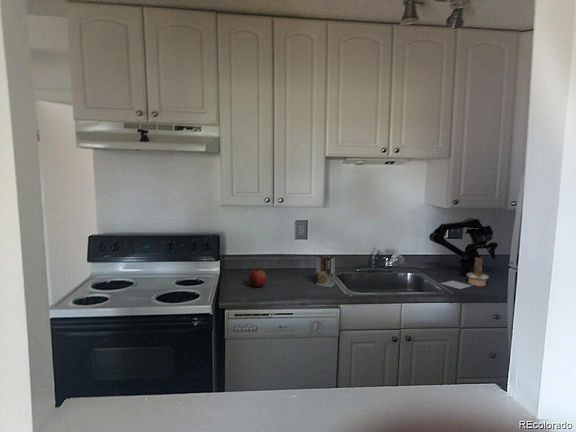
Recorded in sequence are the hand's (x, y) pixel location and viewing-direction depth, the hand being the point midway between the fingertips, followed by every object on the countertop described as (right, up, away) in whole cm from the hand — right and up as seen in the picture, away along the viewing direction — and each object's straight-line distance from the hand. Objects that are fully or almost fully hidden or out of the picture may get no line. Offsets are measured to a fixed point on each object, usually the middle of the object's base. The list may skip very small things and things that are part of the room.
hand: (487, 259), depth 228 cm
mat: (-22, -14, -7) cm, 27 cm away
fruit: (-135, -13, -18) cm, 137 cm away
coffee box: (-97, -13, -13) cm, 99 cm away
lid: (-8, -10, -5) cm, 13 cm away
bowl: (-8, -14, -4) cm, 17 cm away
